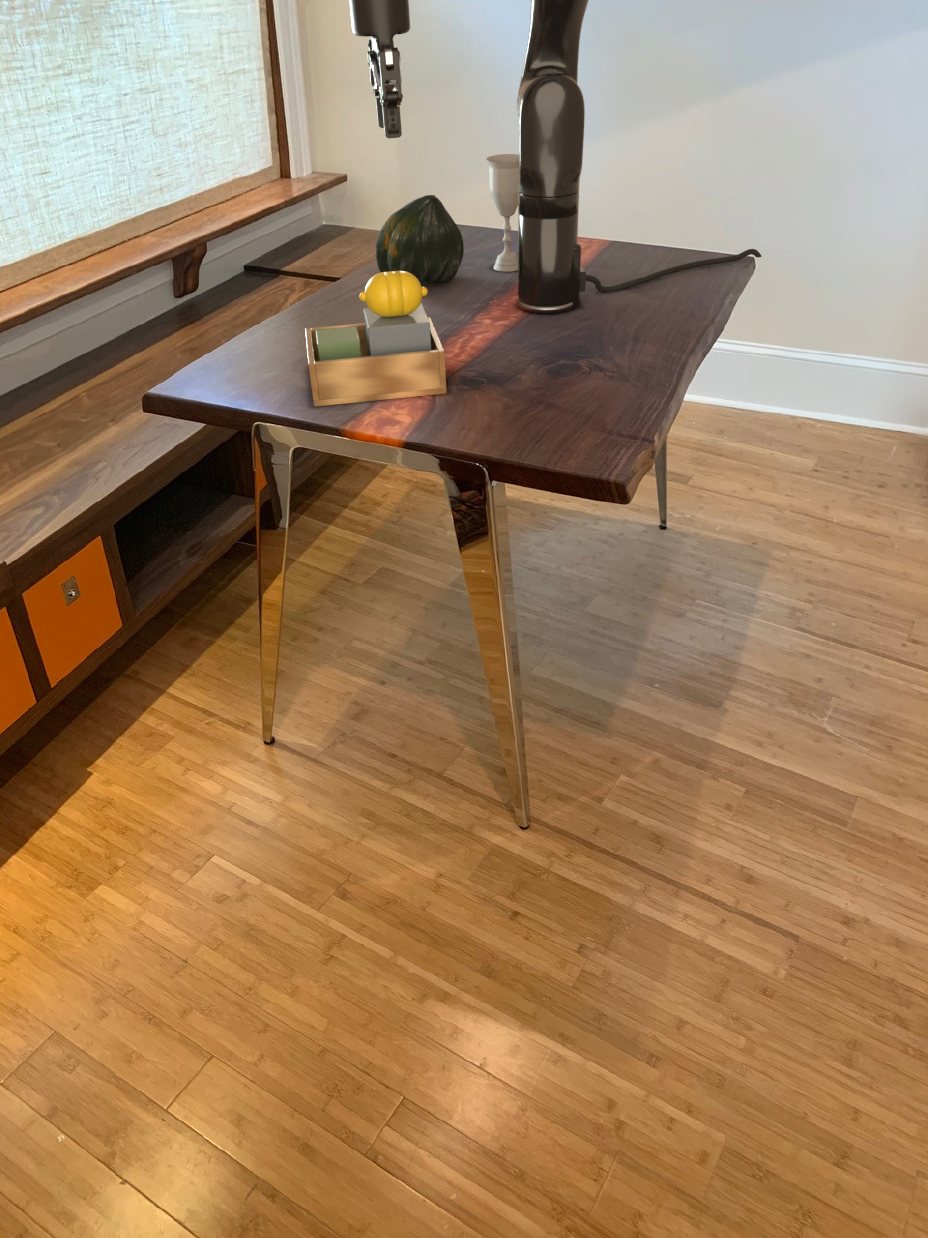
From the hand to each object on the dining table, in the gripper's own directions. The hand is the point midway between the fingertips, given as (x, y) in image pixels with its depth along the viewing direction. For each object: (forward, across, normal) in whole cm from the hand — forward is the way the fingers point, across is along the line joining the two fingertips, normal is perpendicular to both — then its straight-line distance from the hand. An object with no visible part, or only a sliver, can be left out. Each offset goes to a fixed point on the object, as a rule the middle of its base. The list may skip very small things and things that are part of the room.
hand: (389, 131), depth 129 cm
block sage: (+28, -18, +11) cm, 35 cm away
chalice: (+28, +28, -22) cm, 46 cm away
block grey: (+28, -18, +3) cm, 33 cm away
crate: (+28, -18, +6) cm, 34 cm away
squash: (+28, +24, -6) cm, 38 cm away
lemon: (+19, -18, +3) cm, 26 cm away
